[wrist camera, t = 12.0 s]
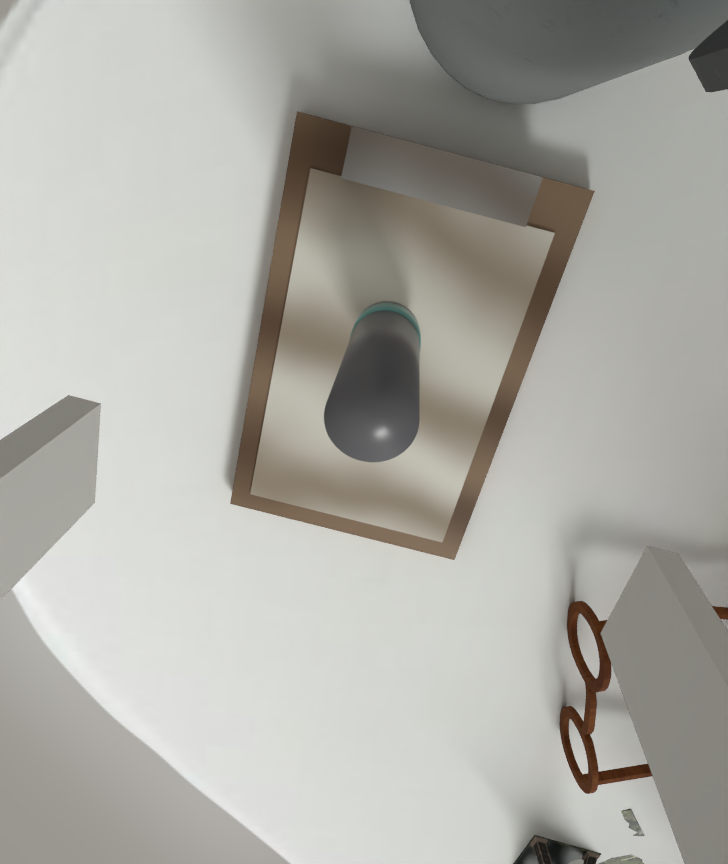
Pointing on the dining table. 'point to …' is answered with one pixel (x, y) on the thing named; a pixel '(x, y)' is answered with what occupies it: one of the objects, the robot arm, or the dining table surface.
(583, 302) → the dining table surface
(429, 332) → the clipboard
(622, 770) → the glasses
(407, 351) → the marker
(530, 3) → the water bottle
